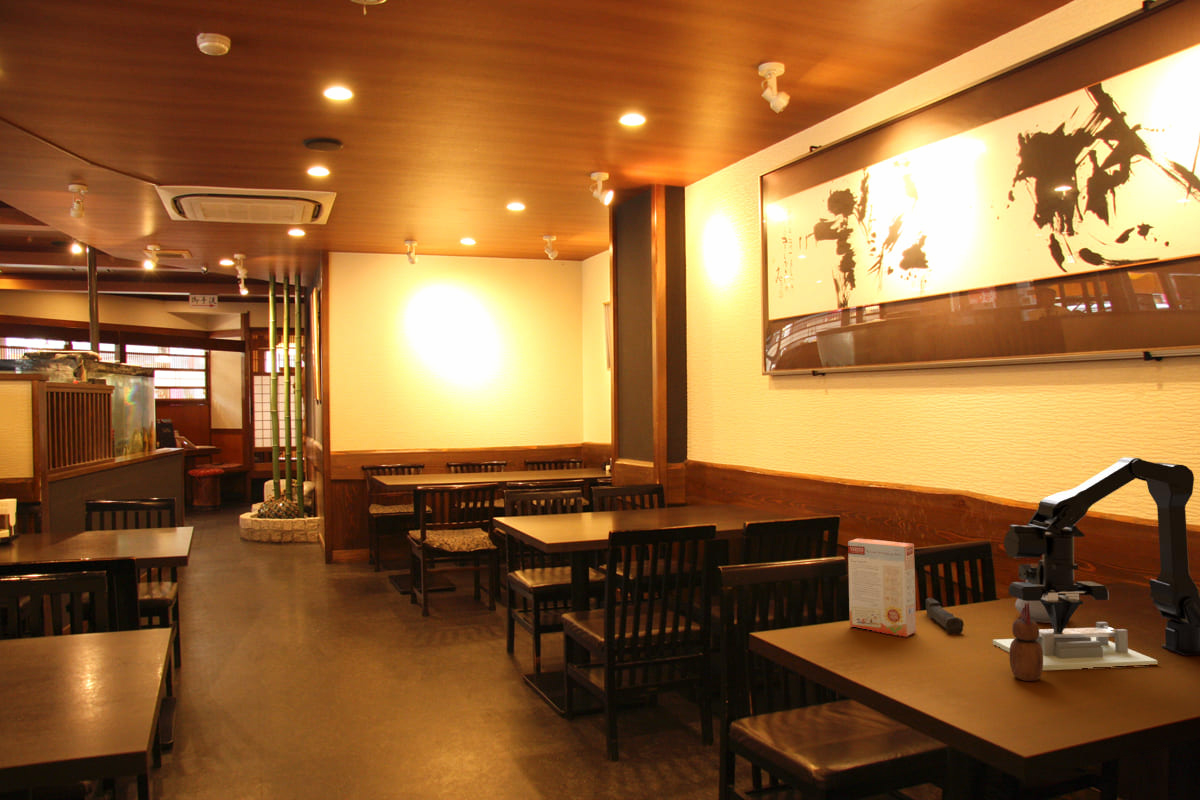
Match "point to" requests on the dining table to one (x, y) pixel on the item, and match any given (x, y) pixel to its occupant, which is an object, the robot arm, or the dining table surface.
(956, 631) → the hand tool
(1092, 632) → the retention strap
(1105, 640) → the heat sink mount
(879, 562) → the cracker box
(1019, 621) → the wooden figurine
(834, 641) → the dining table surface
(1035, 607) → the coffee pot
